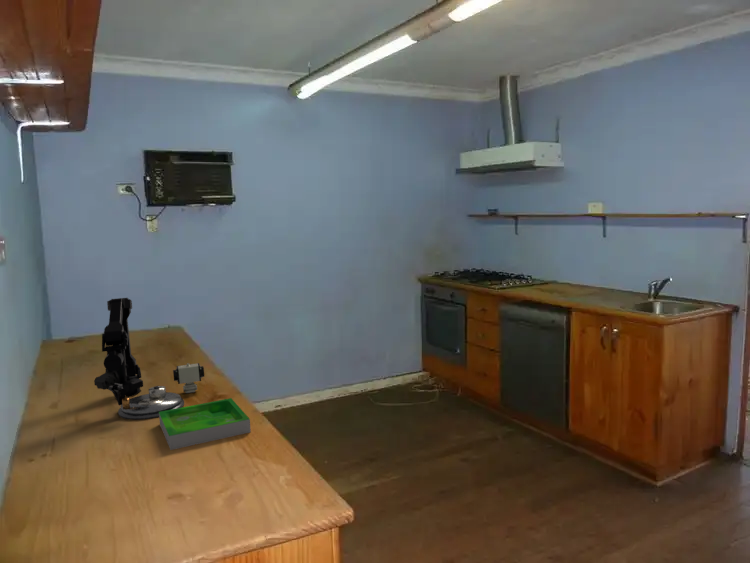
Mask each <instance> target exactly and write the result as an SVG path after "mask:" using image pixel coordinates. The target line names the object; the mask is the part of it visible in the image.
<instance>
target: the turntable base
mask: <svg viewBox="0 0 750 563" xmlns="http://www.w3.org/2000/svg"><path fill="white" fill-rule="evenodd" d="M184 405H185V400H184V398H182V397H181V403H180V404H179V405H177V406H176V407H174V408H171V409H169V410H172V409H177V408H182V407H185V406H184ZM117 412H118V416H119V417H120V418H122V419H124V420H132V421H133V420H136V421H137V420H139V421H140V420H147V419H149V420H150V419H155V418H159V413H154V414H147V415H129V414H125V413H123V412H122V411H121V407H120V408H119V409H118V411H117Z"/></svg>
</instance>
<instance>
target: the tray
mask: <svg viewBox="0 0 750 563" xmlns="http://www.w3.org/2000/svg"><path fill="white" fill-rule="evenodd" d="M158 418H159V419H158V420H159V426H160V428H161V431H162V432H163V435H164V437H165V441H166V442H167V445H168V447H169V450H170V451H172V450H176V449H177V450H178V449H181V448H185V447H190V446H195V444H196V445H199V444H204V443H208V442H213V441H217V440H222V439H226V438H231V437H235V436H239V435H240V436H241V435H244V434H248V433H251V432H252V430H251V429H252V428H251V419H250V418H249V417H248V415H247V413H245V412H244V411H243V409H241V407H240V406H239V405H238V404H237V403H236V402H235V400H234V399H233V398H231V397H230V398H226V399H225V398H224V399H219V400H214V401H209V402H208V401H207V402H204V403H199V404H192V405H189V406H187V405H186V406H183V407H182V408H177V409H172V410H166V411H161V412H159V417H158Z"/></svg>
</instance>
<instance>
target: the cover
mask: <svg viewBox="0 0 750 563" xmlns="http://www.w3.org/2000/svg"><path fill="white" fill-rule="evenodd" d="M166 392H167V390H166V386H164V385H155V386H151V387H149V388H148V394H149V398H150V399H159V398H163V397H165V396H166Z"/></svg>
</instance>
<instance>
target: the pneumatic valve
mask: <svg viewBox="0 0 750 563" xmlns="http://www.w3.org/2000/svg"><path fill="white" fill-rule="evenodd" d="M172 374H173V381H174V382H177V384H178V385H181V384H184V385H183V386H182V387H183V388H182V390H183V392H184V393H185V394H193V393H196V391H198V385H197V384H196V382H201V381H202V378H204V377H205V368H204V365H201V364H200V363H199V362H198V363H191V364H190V362H187V363H186V364H184V365H177V366H176V368H175V369H173V370H172Z"/></svg>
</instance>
